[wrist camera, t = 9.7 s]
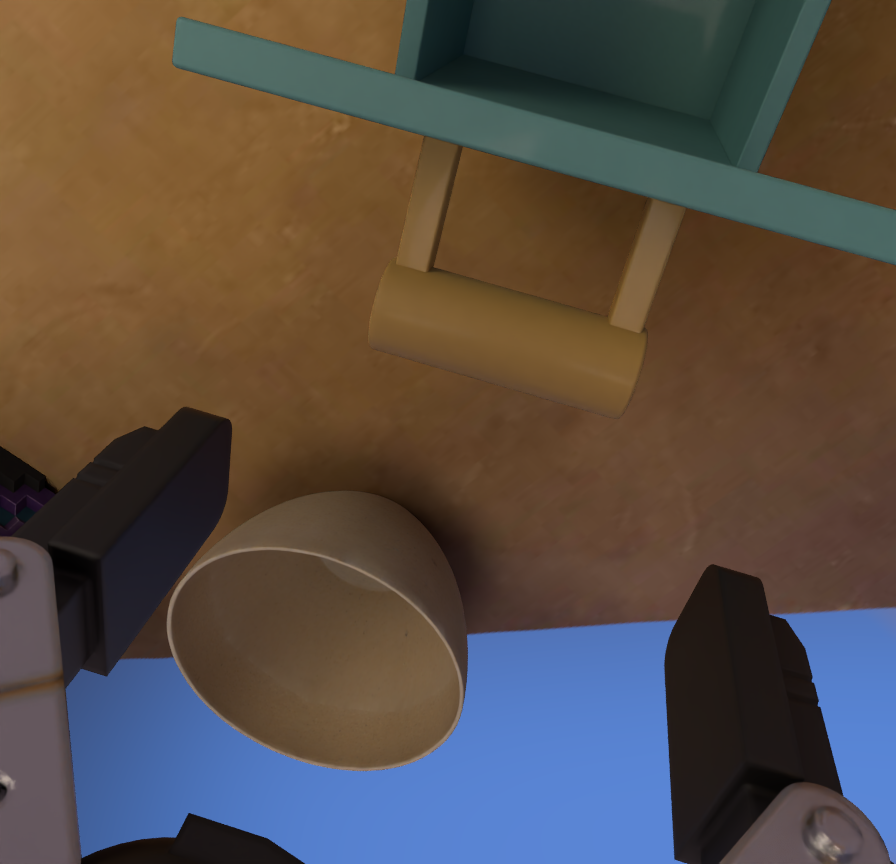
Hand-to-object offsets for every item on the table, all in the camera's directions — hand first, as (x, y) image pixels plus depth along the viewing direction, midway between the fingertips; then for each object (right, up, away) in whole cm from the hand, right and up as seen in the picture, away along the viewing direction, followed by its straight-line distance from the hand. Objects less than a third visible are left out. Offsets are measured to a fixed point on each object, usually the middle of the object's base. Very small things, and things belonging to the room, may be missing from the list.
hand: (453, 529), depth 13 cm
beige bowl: (-6, -6, +42) cm, 43 cm away
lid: (+3, +9, +7) cm, 12 cm away
